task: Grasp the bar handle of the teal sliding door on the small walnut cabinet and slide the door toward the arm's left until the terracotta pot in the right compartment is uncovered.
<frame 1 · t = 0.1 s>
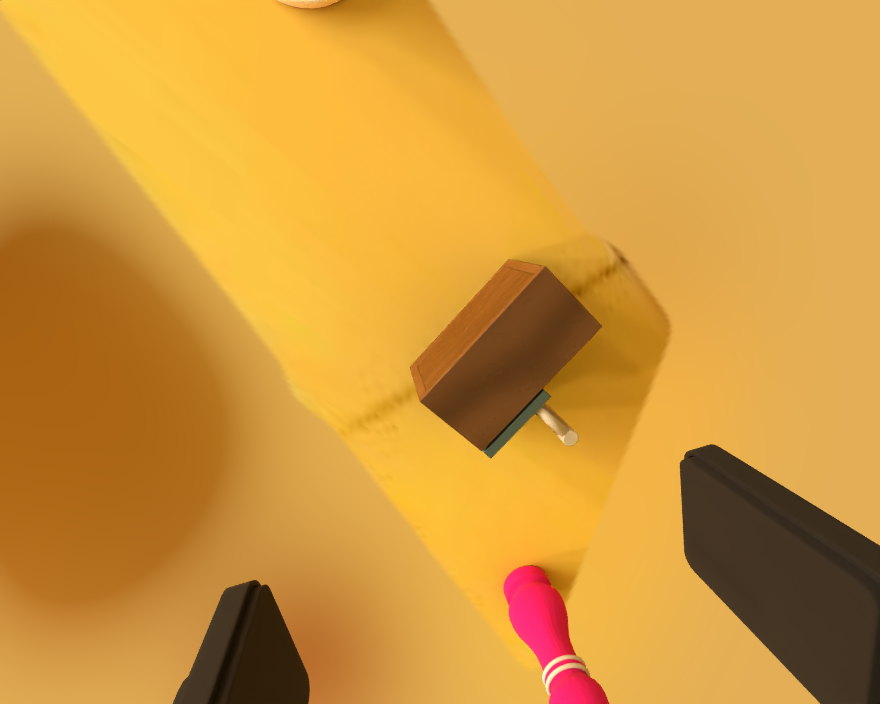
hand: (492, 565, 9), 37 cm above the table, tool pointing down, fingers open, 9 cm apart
sliding door: (520, 421, 45), point 5 cm above the table, slide at 0.0 cm
cabinet: (483, 337, 47), on the table
pepper mill: (524, 582, 58), on the table
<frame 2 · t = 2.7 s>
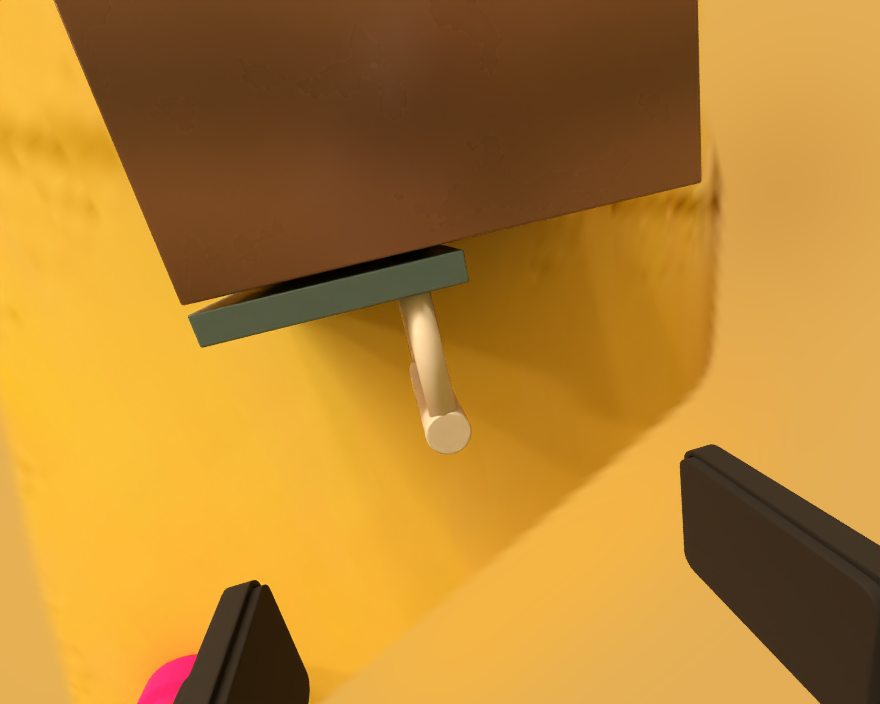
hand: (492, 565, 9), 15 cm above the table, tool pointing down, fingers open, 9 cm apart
sliding door: (363, 346, 18), point 5 cm above the table, slide at 0.0 cm
cabinet: (400, 152, 21), on the table
pepper mill: (199, 686, 28), on the table
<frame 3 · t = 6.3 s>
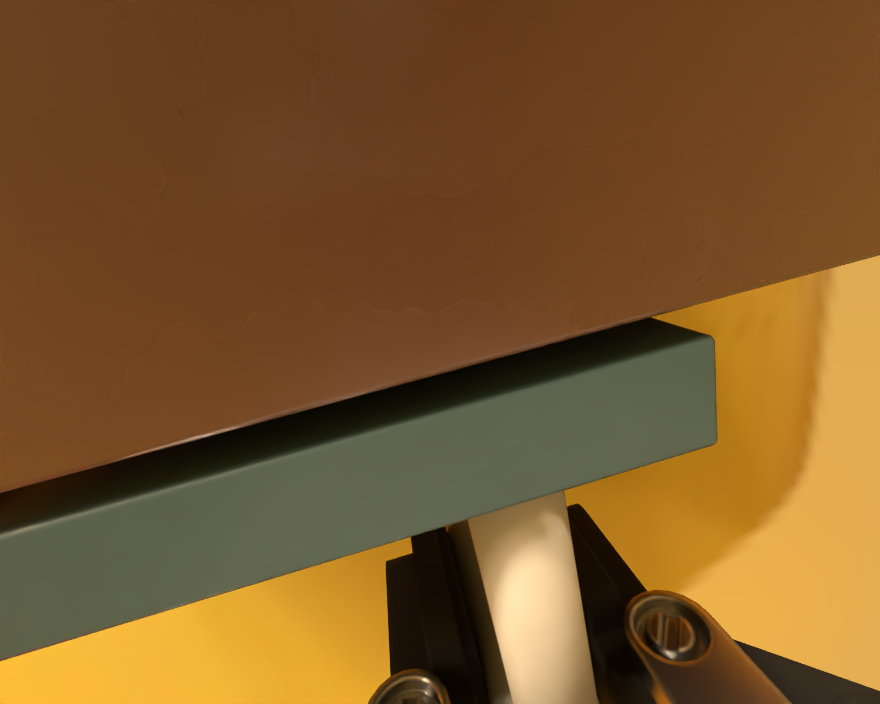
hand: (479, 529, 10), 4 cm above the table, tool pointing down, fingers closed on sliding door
sliding door: (351, 489, 9), point 5 cm above the table, slide at 4.1 cm, touching gripper
cabinet: (270, 134, 11), on the table
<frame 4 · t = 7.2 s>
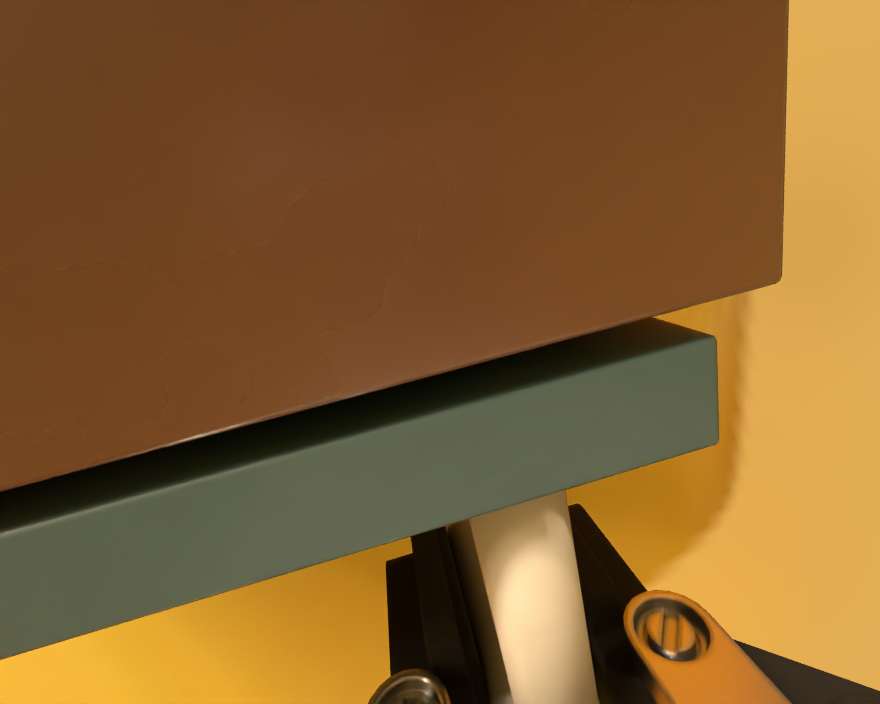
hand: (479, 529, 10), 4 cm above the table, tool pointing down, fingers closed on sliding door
sliding door: (352, 489, 9), point 5 cm above the table, slide at 7.3 cm, touching gripper
cabinet: (144, 160, 11), on the table
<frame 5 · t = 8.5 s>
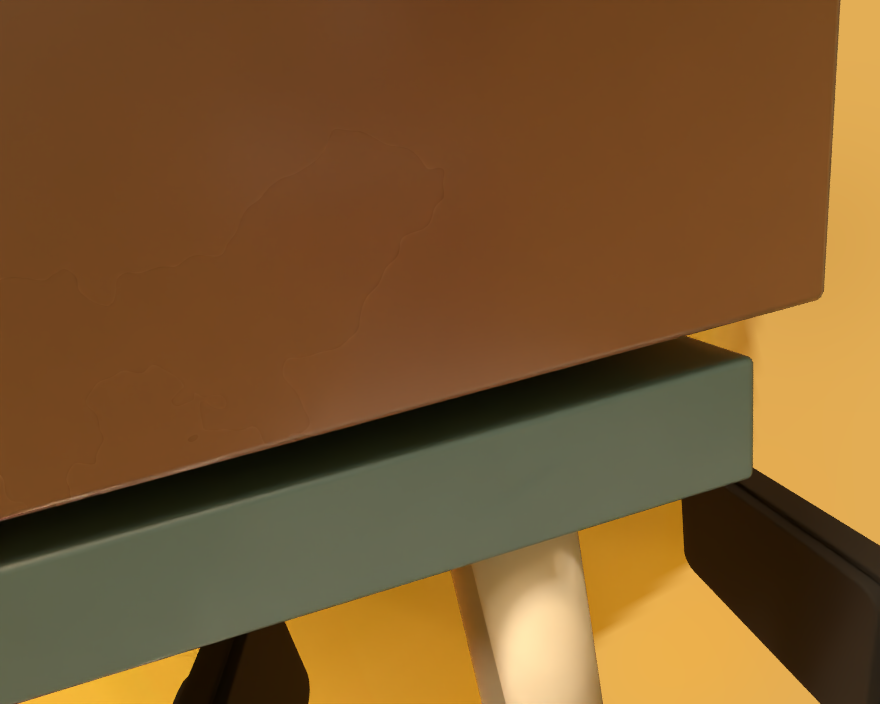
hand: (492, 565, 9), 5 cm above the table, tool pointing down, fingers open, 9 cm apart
sliding door: (345, 504, 8), point 5 cm above the table, slide at 7.4 cm
cabinet: (129, 159, 10), on the table
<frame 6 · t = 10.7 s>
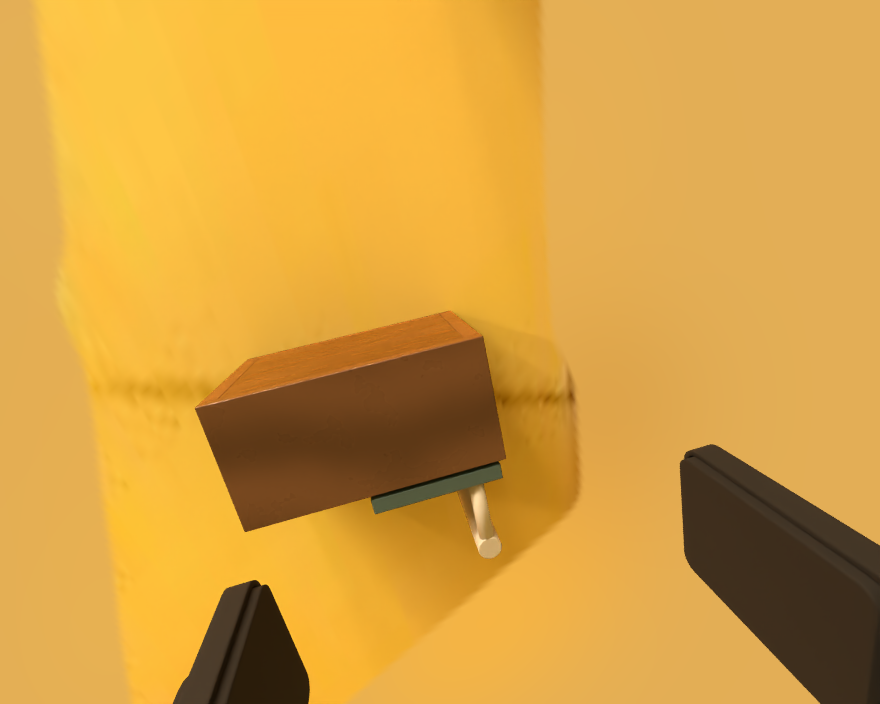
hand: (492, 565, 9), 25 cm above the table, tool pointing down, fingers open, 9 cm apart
sliding door: (436, 486, 31), point 5 cm above the table, slide at 7.4 cm
cabinet: (364, 381, 34), on the table
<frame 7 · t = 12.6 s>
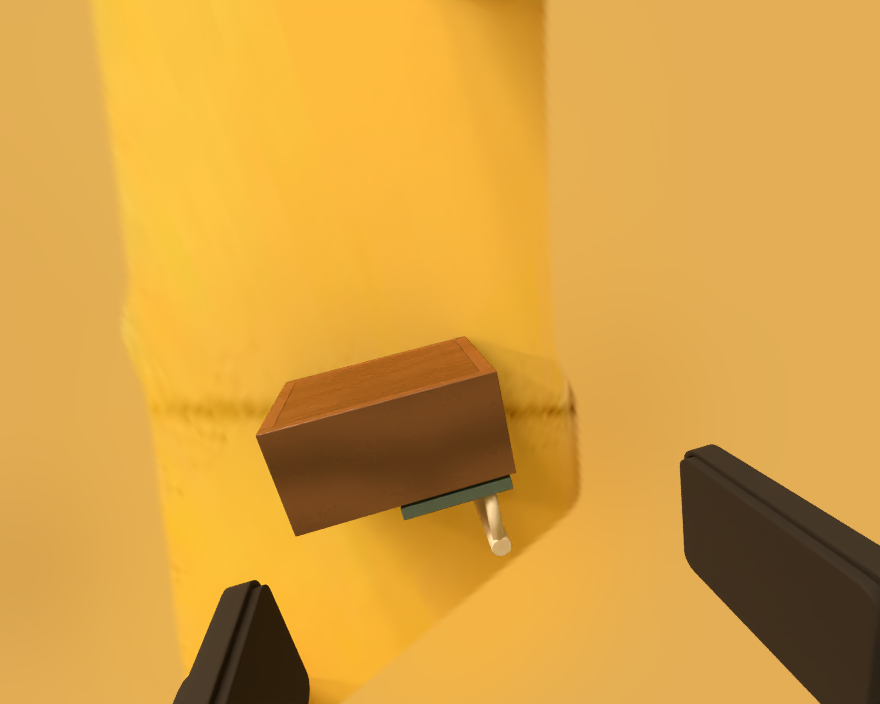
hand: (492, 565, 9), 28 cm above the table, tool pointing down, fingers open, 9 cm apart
sliding door: (453, 493, 36), point 5 cm above the table, slide at 7.4 cm
cabinet: (388, 399, 38), on the table
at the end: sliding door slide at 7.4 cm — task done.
